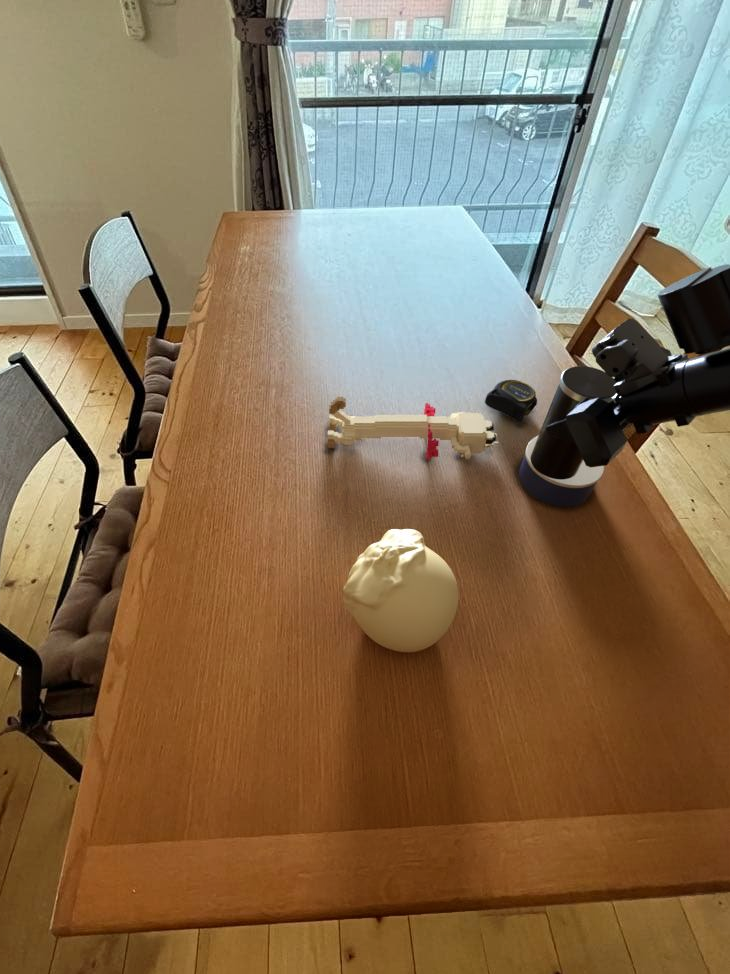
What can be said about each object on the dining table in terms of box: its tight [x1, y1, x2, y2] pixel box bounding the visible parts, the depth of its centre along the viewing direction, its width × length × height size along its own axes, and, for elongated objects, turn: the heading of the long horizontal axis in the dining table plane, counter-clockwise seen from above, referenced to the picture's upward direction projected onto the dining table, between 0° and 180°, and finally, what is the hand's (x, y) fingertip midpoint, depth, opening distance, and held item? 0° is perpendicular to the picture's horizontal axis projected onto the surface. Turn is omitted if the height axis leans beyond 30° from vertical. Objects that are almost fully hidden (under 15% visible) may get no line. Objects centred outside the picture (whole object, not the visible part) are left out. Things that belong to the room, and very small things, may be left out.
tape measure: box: [484, 379, 538, 423], centre depth 89 cm, size 7×7×4 cm
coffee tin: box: [518, 435, 605, 508], centre depth 78 cm, size 10×10×4 cm
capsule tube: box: [530, 365, 617, 480], centre depth 67 cm, size 6×6×13 cm
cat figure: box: [327, 396, 499, 461], centre depth 81 cm, size 10×9×25 cm
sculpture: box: [342, 528, 459, 653], centre depth 60 cm, size 12×12×11 cm
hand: (561, 418), depth 68 cm, fingers closed on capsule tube, 6 cm apart
